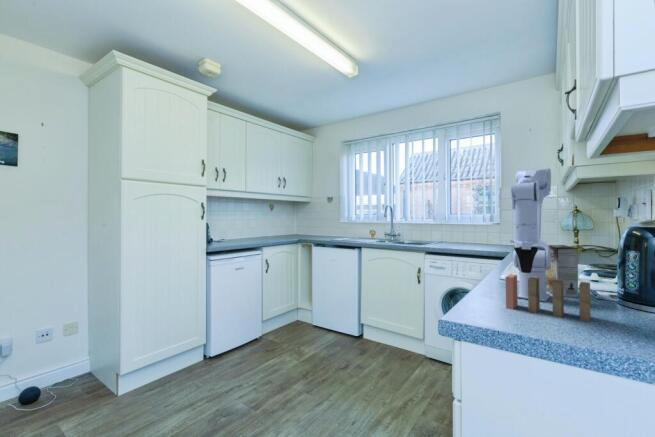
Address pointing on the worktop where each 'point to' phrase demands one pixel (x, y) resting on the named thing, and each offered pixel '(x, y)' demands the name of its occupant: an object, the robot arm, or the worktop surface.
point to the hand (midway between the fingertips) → (526, 272)
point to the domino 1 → (511, 291)
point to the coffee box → (563, 269)
